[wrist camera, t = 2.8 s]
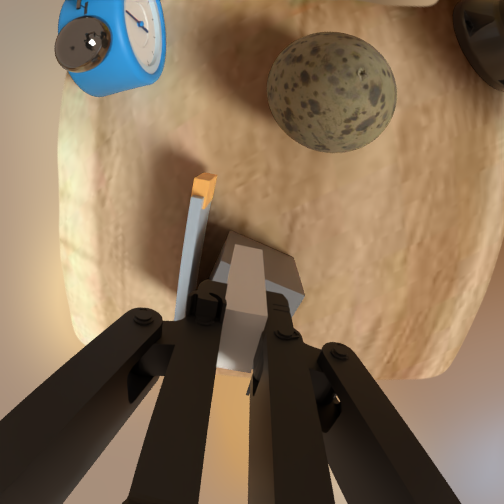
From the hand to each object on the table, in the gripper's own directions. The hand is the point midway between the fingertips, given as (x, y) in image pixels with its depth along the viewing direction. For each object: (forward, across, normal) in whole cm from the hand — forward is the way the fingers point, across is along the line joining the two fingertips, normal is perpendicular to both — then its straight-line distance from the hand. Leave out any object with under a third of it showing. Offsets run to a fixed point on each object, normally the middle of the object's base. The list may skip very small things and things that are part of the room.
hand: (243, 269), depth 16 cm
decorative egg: (+17, +4, +13) cm, 22 cm away
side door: (+17, -5, -5) cm, 18 cm away
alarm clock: (+17, -16, +16) cm, 29 cm away
